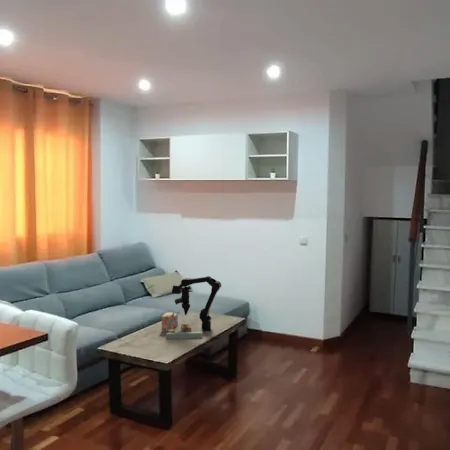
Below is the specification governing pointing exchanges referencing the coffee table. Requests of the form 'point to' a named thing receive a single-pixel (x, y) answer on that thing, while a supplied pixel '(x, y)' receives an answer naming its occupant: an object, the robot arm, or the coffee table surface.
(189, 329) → the walnut brick
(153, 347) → the coffee table surface
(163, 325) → the stack of blocks
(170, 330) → the oak cube
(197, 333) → the board
